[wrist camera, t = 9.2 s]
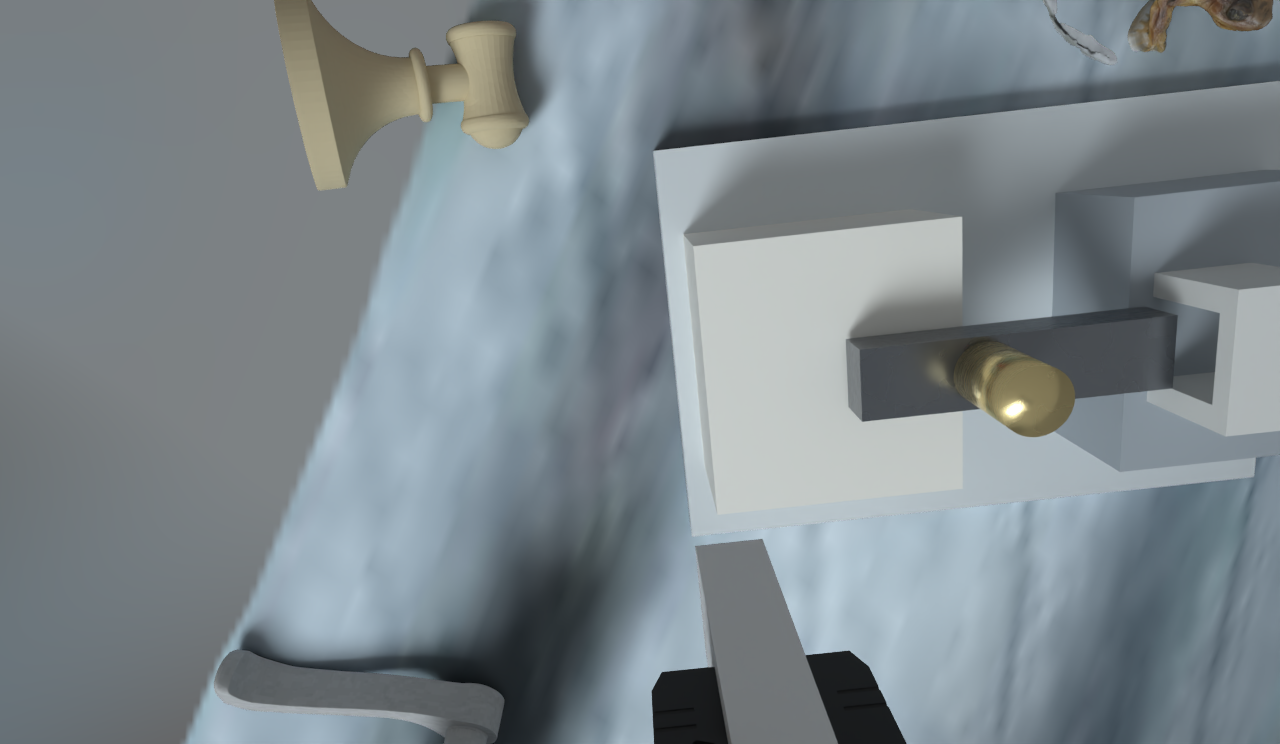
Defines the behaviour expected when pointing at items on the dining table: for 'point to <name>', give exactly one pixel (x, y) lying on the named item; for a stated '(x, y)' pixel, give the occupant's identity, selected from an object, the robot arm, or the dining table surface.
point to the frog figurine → (1167, 24)
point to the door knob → (392, 87)
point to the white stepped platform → (970, 299)
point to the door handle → (361, 696)
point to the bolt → (1012, 367)
